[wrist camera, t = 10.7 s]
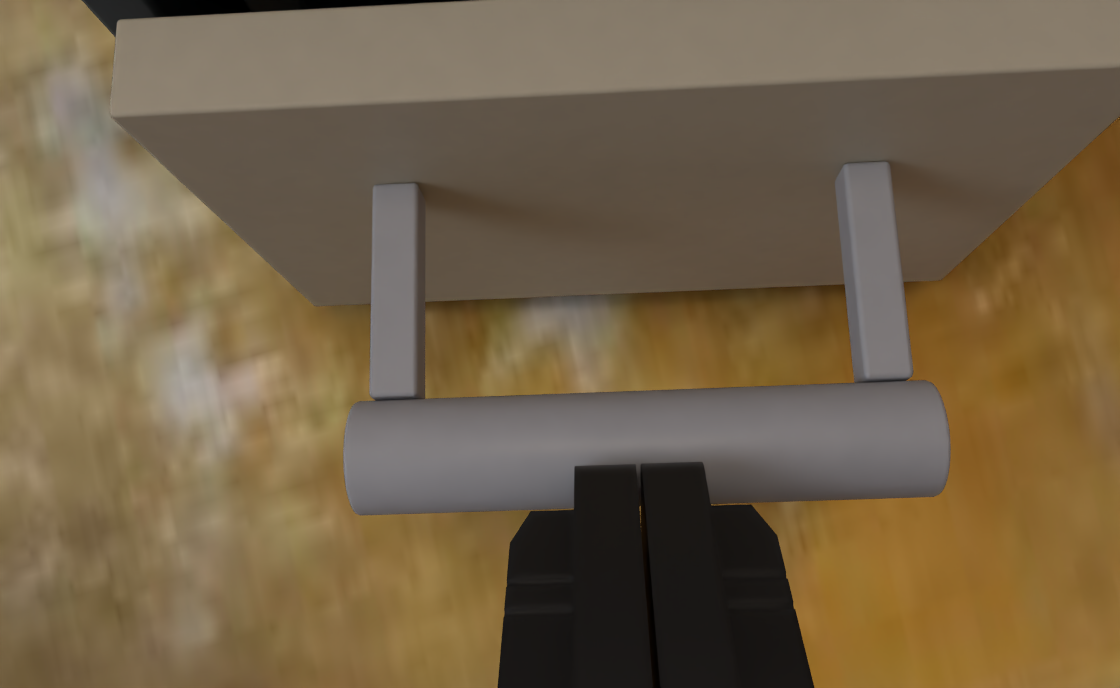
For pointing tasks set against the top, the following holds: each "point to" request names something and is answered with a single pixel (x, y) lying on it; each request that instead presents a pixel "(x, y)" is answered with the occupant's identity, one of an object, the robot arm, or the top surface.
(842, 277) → the drawer
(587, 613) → the robot arm
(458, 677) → the top surface
